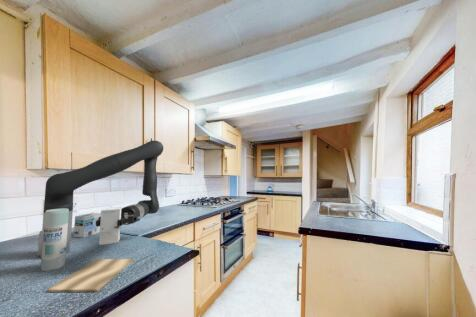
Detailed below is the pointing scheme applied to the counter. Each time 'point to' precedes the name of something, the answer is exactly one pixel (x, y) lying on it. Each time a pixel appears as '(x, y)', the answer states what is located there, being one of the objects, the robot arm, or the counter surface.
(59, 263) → the spray paint can
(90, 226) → the light bulb box
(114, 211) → the skincare box
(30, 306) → the counter surface
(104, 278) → the wooden board
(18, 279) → the counter surface
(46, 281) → the counter surface
